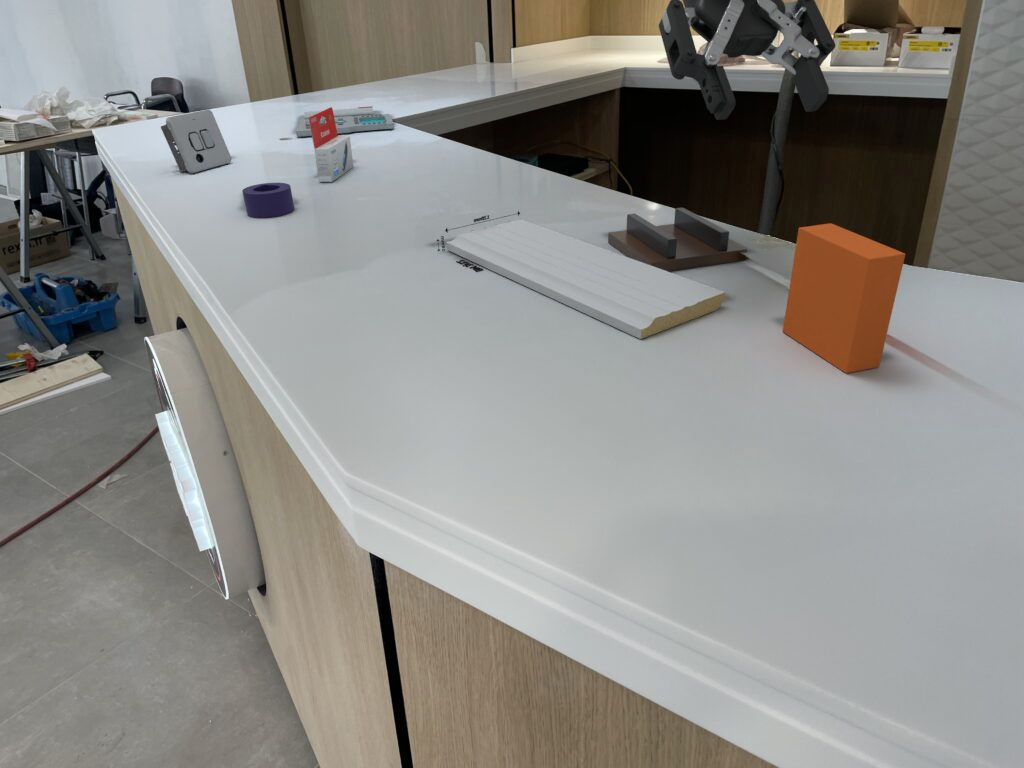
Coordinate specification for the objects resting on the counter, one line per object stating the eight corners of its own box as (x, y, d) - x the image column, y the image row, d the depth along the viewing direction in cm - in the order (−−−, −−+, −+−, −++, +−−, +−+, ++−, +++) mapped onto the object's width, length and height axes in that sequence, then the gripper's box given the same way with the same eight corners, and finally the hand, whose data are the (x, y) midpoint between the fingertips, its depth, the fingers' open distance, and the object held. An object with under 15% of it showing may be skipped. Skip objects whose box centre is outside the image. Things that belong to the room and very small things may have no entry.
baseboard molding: (628, 345, 60) (723, 307, 66) (629, 312, 59) (727, 277, 65) (435, 253, 83) (520, 231, 89) (433, 227, 81) (519, 207, 87)
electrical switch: (192, 174, 123) (174, 116, 119) (171, 175, 125) (153, 118, 121) (233, 163, 130) (218, 108, 126) (213, 164, 133) (198, 110, 128)
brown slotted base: (694, 231, 86) (696, 204, 85) (745, 260, 77) (749, 230, 75) (607, 242, 84) (608, 215, 82) (650, 274, 74) (652, 243, 73)
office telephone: (299, 109, 168) (386, 103, 172) (301, 121, 169) (387, 115, 173) (294, 124, 148) (393, 117, 151) (296, 137, 149) (394, 130, 153)
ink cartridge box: (354, 166, 124) (346, 105, 119) (333, 182, 114) (323, 117, 110) (340, 166, 124) (331, 106, 119) (317, 183, 115) (307, 117, 110)
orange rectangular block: (812, 326, 62) (831, 222, 58) (879, 367, 55) (906, 253, 51) (781, 331, 61) (798, 227, 57) (845, 373, 55) (870, 259, 50)
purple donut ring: (298, 213, 99) (294, 189, 98) (250, 220, 97) (245, 196, 96) (282, 194, 109) (278, 172, 108) (238, 200, 107) (234, 178, 105)
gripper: (656, -84, 59) (716, 84, 55) (808, -87, 62) (875, 72, 58) (625, -9, 66) (677, 145, 62) (764, -16, 69) (821, 130, 65)
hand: (773, 109), depth 60 cm, fingers open, 8 cm apart
